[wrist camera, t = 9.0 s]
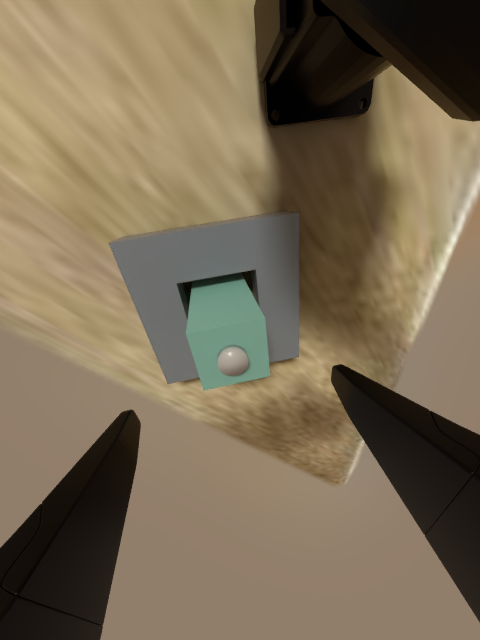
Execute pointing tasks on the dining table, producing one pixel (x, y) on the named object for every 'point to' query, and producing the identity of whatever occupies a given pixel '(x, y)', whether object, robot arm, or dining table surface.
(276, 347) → the plate
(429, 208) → the dining table surface
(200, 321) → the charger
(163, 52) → the dining table surface
